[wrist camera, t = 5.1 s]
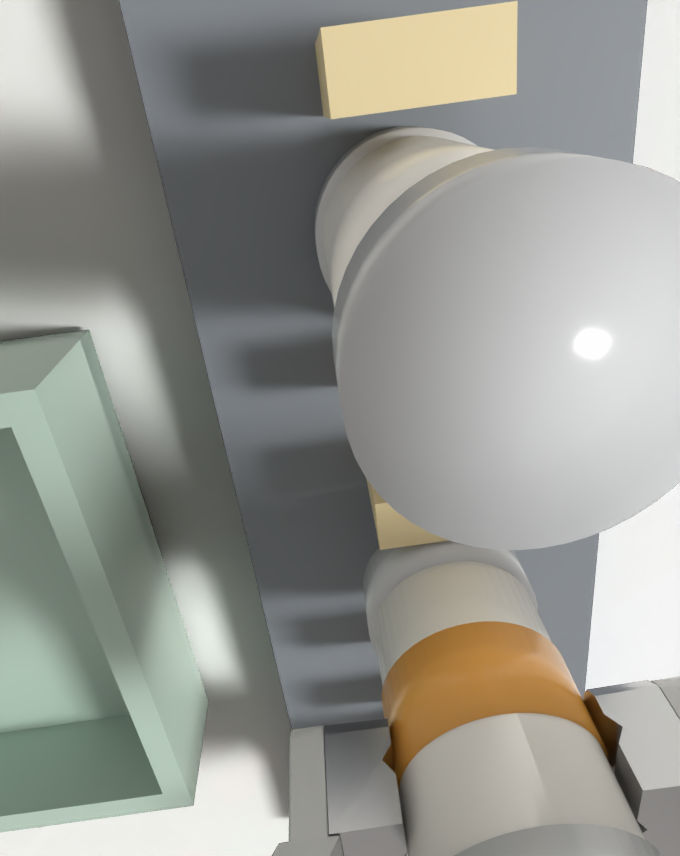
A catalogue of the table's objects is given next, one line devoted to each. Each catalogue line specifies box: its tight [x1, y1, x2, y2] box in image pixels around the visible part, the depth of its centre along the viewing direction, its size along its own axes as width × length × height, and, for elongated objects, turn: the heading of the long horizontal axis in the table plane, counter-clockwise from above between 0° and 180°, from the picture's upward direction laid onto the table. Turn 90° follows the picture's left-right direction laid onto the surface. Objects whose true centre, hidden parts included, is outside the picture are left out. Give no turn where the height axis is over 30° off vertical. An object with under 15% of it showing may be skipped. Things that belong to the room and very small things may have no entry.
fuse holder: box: [119, 0, 647, 730], centre depth 14 cm, size 24×8×4 cm, turn 7°
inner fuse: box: [314, 126, 680, 550], centre depth 8 cm, size 3×3×7 cm
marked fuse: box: [363, 541, 662, 856], centre depth 10 cm, size 3×3×7 cm
